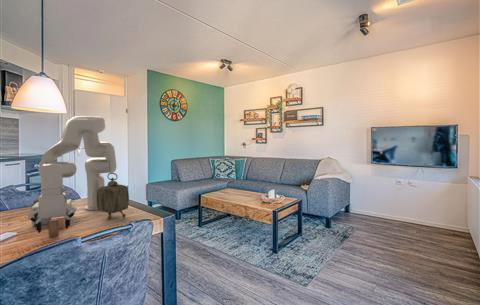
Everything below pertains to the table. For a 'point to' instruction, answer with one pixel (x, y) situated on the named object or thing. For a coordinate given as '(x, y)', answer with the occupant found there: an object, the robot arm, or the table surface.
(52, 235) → the corded block
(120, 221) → the table surface
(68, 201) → the cubby shelf
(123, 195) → the tabletop clock
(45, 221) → the plain block
